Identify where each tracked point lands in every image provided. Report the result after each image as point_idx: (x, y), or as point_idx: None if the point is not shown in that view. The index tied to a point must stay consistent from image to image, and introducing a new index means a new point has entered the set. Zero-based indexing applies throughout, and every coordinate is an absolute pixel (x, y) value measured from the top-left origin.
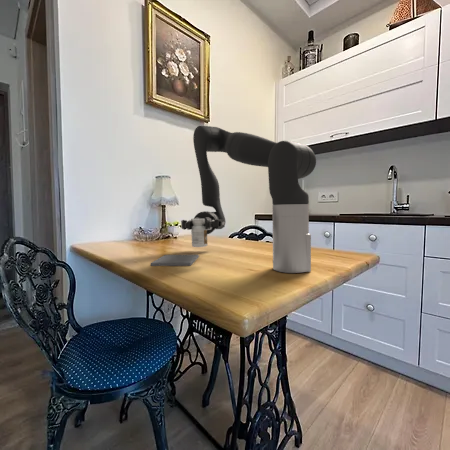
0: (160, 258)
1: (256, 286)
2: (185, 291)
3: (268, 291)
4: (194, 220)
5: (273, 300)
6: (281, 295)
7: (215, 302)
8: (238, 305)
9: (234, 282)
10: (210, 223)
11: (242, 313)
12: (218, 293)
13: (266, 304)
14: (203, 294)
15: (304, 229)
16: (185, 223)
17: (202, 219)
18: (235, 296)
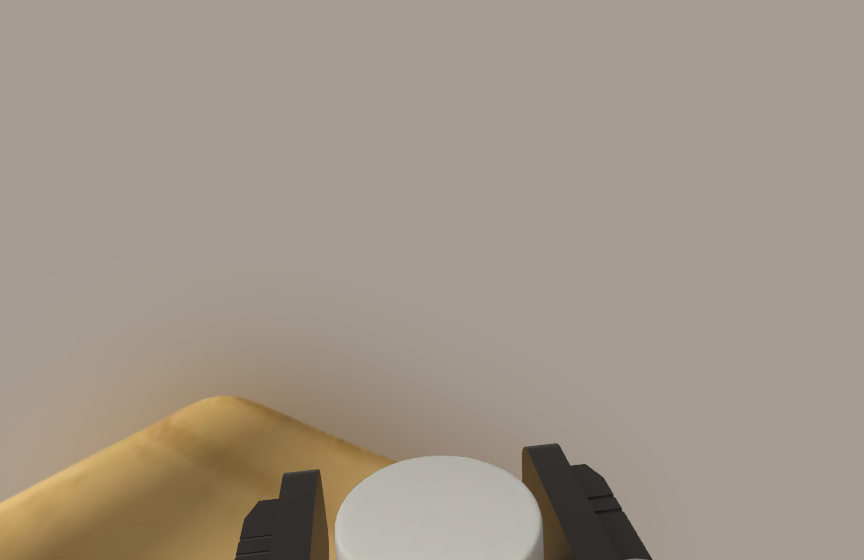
0: None
1: (96, 547)
2: None
3: (76, 508)
4: (478, 471)
5: (104, 454)
6: (52, 486)
7: (281, 424)
8: (219, 420)
9: None
10: (247, 528)
11: (218, 396)
12: (270, 470)
13: (139, 434)
14: (322, 457)
15: None
16: (593, 474)
17: (361, 484)
18: (214, 460)
